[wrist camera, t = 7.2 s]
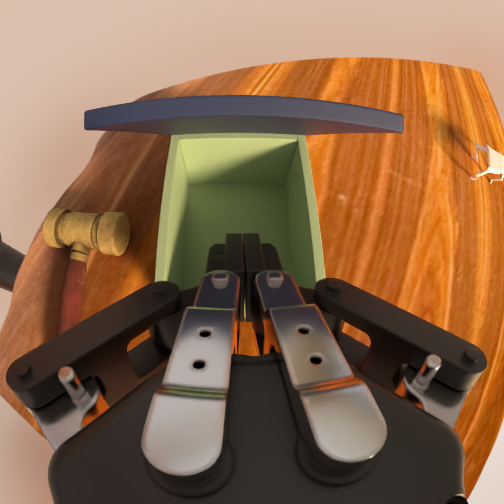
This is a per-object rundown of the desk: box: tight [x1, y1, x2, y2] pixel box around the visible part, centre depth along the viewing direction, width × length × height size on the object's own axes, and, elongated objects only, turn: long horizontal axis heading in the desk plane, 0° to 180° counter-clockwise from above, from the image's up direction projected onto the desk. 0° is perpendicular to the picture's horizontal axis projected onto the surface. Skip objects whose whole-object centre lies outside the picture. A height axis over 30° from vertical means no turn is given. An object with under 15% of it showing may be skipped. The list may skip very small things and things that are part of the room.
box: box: [155, 133, 325, 317], centre depth 26 cm, size 16×13×9 cm
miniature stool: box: [470, 144, 504, 183], centre depth 36 cm, size 12×8×5 cm
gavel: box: [43, 208, 130, 336], centre depth 25 cm, size 21×5×10 cm
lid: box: [84, 95, 404, 135], centre depth 17 cm, size 17×13×1 cm
